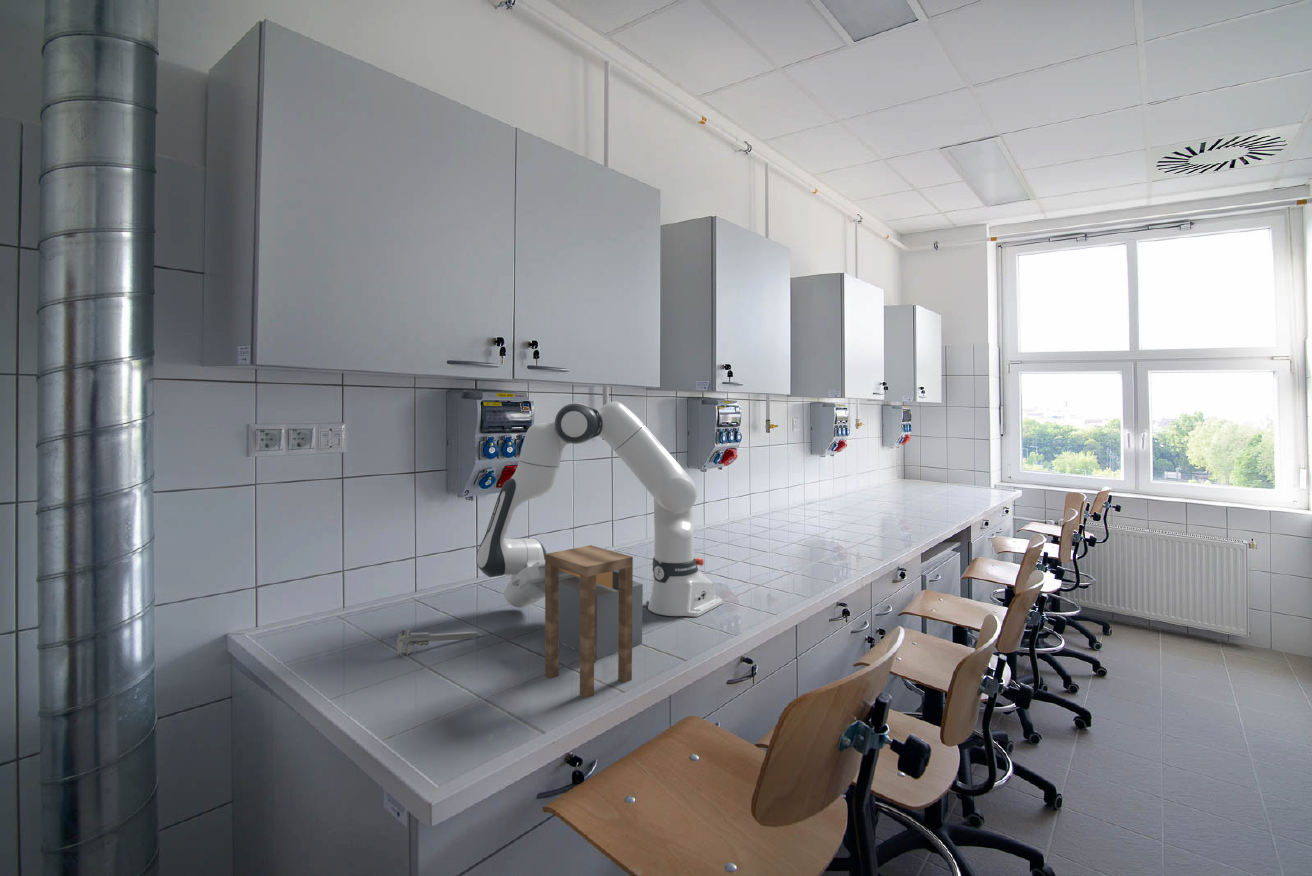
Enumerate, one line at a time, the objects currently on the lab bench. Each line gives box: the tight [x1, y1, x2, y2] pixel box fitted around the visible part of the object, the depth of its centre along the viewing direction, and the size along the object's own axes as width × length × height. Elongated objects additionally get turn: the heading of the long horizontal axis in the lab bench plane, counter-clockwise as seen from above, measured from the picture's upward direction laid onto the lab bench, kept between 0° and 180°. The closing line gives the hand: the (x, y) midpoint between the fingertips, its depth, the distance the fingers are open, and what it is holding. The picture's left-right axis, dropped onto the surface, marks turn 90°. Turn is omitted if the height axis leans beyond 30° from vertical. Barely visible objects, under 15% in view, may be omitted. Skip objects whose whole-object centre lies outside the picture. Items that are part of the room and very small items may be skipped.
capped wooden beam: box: [559, 568, 619, 591], centre depth 150 cm, size 4×24×4 cm, turn 44°
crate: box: [559, 576, 644, 661], centre depth 152 cm, size 14×16×14 cm
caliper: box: [396, 628, 484, 657], centre depth 149 cm, size 20×1×6 cm, turn 131°
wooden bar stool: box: [544, 544, 634, 699], centre depth 132 cm, size 12×14×26 cm
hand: (571, 560), depth 156 cm, fingers closed on capped wooden beam, 4 cm apart
